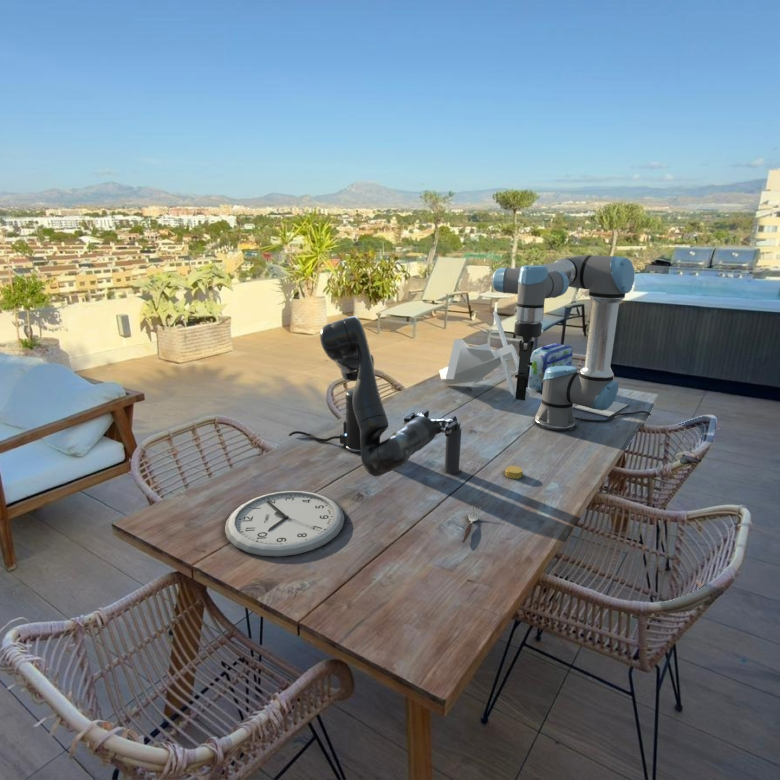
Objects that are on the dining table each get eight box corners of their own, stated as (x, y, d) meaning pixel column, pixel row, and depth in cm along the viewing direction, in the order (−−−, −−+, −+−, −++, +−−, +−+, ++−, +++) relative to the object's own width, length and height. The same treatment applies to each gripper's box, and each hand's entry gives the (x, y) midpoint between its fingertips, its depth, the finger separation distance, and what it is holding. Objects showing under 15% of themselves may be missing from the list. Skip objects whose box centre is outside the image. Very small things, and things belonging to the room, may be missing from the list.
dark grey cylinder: (452, 475, 161) (454, 426, 157) (441, 470, 165) (444, 422, 160) (461, 471, 164) (464, 423, 159) (451, 466, 167) (454, 419, 163)
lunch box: (544, 395, 239) (549, 351, 233) (524, 390, 247) (528, 347, 240) (571, 384, 257) (577, 343, 251) (552, 380, 264) (556, 339, 258)
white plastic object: (461, 429, 252) (437, 405, 227) (444, 352, 274) (420, 323, 250) (535, 404, 240) (518, 377, 215) (510, 326, 262) (492, 293, 237)
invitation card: (608, 416, 214) (573, 407, 224) (608, 416, 214) (573, 408, 224) (628, 404, 229) (594, 396, 238) (628, 405, 229) (594, 397, 238)
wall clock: (344, 547, 121) (211, 552, 118) (344, 554, 121) (212, 558, 119) (344, 486, 149) (237, 489, 147) (344, 491, 150) (237, 494, 147)
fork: (457, 543, 126) (458, 536, 126) (471, 511, 141) (471, 504, 140) (468, 545, 125) (468, 538, 125) (480, 513, 140) (481, 506, 139)
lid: (524, 474, 163) (524, 468, 162) (519, 480, 159) (519, 474, 158) (508, 470, 166) (508, 464, 165) (502, 476, 161) (503, 470, 161)
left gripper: (441, 426, 131) (465, 408, 145) (392, 416, 138) (419, 399, 151) (440, 453, 133) (463, 433, 147) (391, 442, 140) (418, 423, 154)
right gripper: (518, 314, 160) (512, 380, 167) (511, 328, 138) (504, 404, 144) (543, 315, 158) (536, 382, 165) (540, 330, 136) (532, 407, 142)
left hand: (441, 416), depth 149 cm, fingers open, 8 cm apart
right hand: (521, 393), depth 154 cm, fingers open, 13 cm apart
